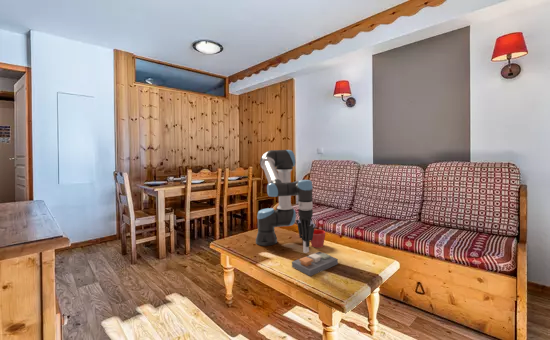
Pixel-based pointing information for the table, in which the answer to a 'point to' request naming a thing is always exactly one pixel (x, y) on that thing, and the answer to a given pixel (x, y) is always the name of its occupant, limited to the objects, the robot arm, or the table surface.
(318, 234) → the flower pot
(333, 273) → the table surface
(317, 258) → the cream button
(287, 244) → the table surface
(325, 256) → the sage button
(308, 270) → the button panel
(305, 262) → the rust button
